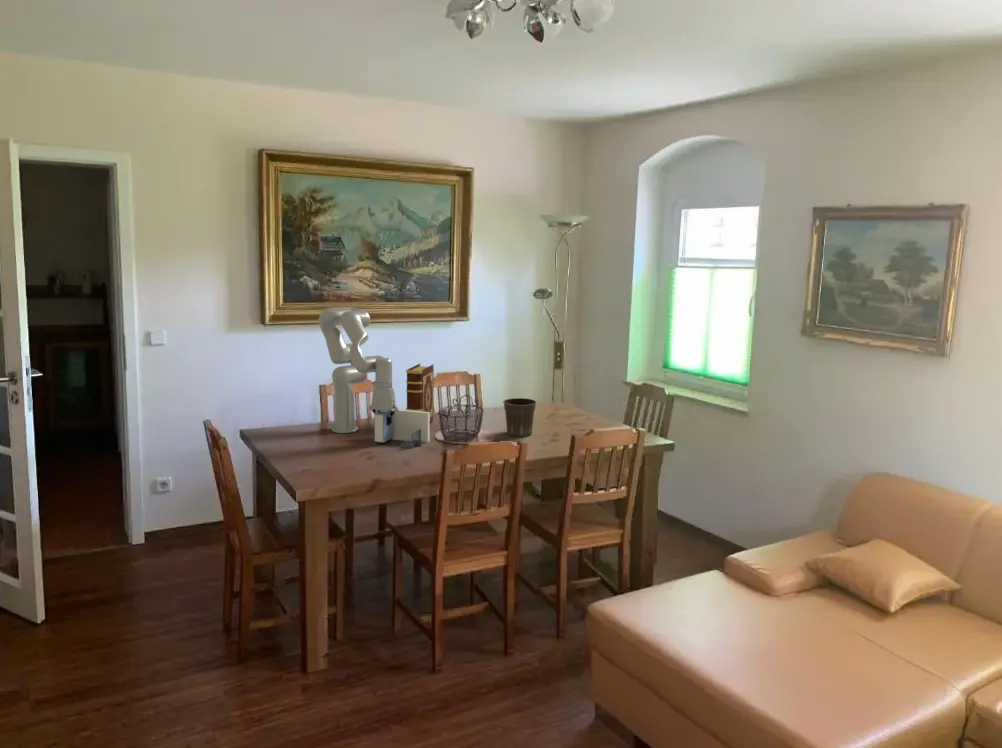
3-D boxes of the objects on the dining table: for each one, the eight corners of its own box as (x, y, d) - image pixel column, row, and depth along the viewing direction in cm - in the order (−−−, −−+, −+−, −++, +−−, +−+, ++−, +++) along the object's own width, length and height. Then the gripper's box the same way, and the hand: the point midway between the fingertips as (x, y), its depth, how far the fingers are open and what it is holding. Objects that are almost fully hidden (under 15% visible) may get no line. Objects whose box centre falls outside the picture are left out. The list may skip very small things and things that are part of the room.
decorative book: (420, 431, 376) (420, 371, 371) (404, 430, 378) (404, 370, 373) (433, 421, 398) (434, 364, 393) (418, 420, 399) (419, 363, 394)
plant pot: (509, 438, 366) (510, 405, 364) (497, 430, 381) (498, 399, 378) (540, 436, 372) (542, 403, 369) (527, 428, 387) (528, 397, 384)
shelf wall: (376, 437, 363) (375, 408, 360) (378, 436, 366) (378, 407, 363) (427, 442, 356) (427, 413, 353) (430, 441, 359) (430, 411, 356)
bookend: (397, 446, 348) (397, 432, 347) (406, 441, 357) (406, 427, 356) (417, 448, 345) (417, 434, 344) (425, 443, 355) (425, 429, 354)
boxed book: (374, 441, 350) (374, 414, 348) (384, 436, 361) (384, 409, 358) (383, 442, 349) (383, 414, 347) (393, 437, 359) (393, 410, 357)
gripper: (363, 385, 349) (363, 424, 352) (397, 387, 345) (397, 427, 348) (370, 382, 356) (370, 421, 359) (404, 385, 352) (404, 424, 355)
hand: (383, 423), depth 353 cm, fingers closed on boxed book, 4 cm apart
